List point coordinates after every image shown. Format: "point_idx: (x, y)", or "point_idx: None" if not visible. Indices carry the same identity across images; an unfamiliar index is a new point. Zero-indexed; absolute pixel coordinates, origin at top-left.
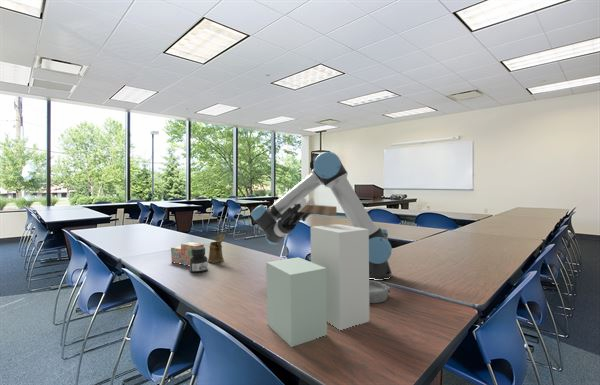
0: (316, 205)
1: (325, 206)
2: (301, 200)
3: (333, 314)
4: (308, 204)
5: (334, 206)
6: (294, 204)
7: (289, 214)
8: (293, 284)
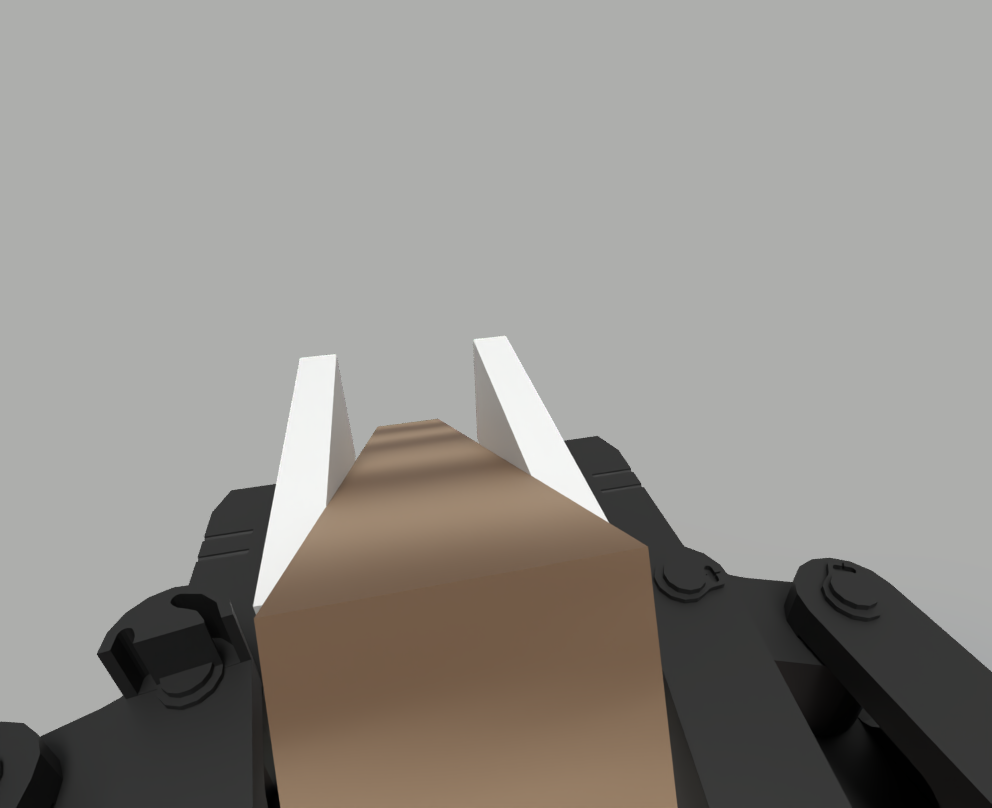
0: (427, 434)
1: (432, 422)
2: (523, 370)
3: None
4: (401, 463)
5: (381, 427)
6: (649, 580)
7: (864, 765)
8: None
